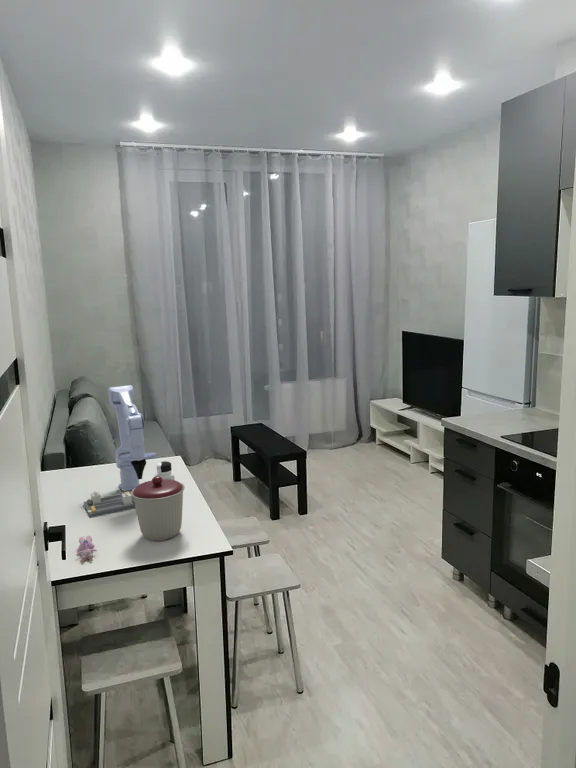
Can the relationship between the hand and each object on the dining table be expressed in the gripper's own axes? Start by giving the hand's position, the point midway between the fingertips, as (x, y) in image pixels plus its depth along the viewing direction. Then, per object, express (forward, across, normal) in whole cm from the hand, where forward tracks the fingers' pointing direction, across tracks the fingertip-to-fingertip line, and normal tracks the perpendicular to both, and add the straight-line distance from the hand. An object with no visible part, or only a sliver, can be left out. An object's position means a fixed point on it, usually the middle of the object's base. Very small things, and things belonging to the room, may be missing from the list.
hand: (139, 478), depth 232 cm
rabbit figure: (+11, -27, -34) cm, 45 cm away
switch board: (+10, -10, +4) cm, 15 cm away
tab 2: (+9, -6, 0) cm, 11 cm away
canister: (+11, -2, -34) cm, 35 cm away
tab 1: (+9, -16, +8) cm, 20 cm away
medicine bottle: (+10, +12, +10) cm, 19 cm away
